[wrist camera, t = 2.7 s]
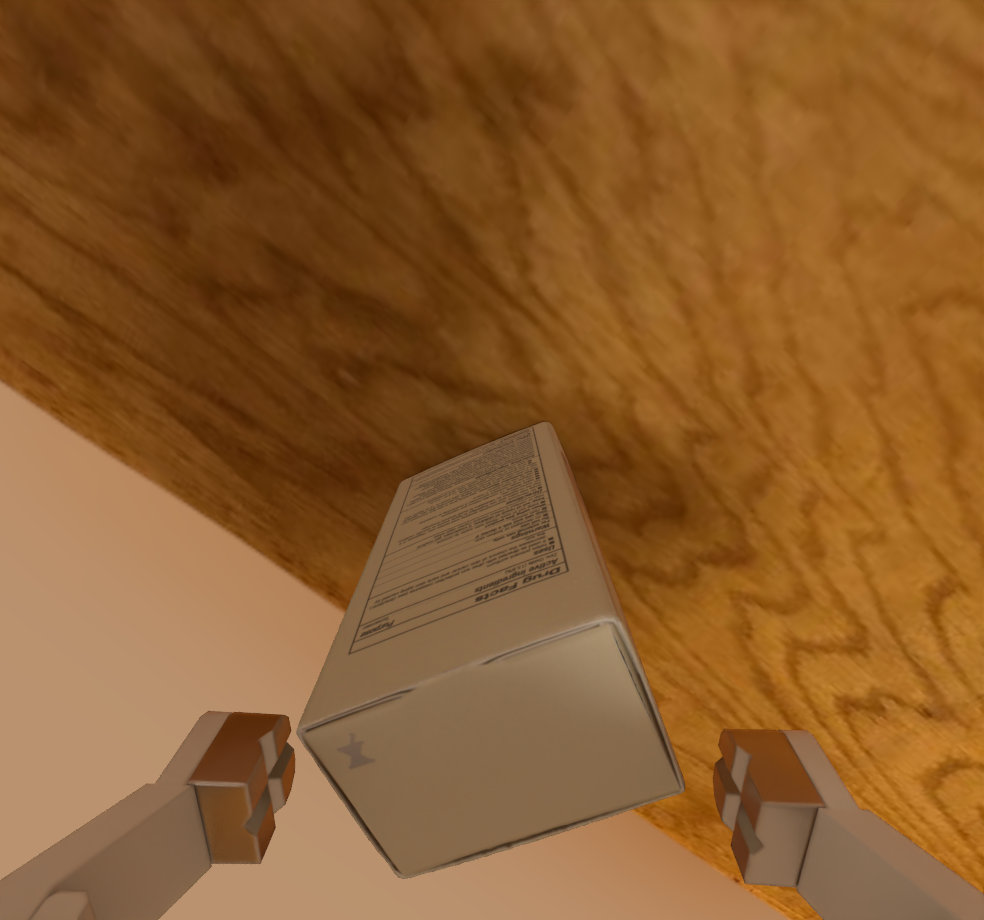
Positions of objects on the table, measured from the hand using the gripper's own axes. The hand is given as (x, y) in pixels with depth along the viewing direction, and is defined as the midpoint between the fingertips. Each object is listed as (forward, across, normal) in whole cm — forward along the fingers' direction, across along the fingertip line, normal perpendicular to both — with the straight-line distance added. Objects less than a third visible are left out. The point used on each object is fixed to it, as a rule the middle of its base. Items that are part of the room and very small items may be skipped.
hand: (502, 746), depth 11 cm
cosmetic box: (+12, 0, 0) cm, 12 cm away
